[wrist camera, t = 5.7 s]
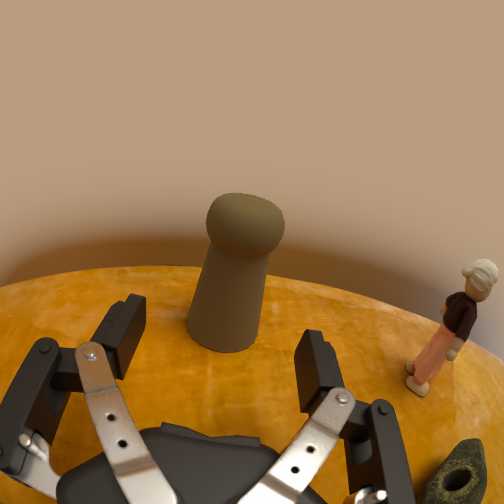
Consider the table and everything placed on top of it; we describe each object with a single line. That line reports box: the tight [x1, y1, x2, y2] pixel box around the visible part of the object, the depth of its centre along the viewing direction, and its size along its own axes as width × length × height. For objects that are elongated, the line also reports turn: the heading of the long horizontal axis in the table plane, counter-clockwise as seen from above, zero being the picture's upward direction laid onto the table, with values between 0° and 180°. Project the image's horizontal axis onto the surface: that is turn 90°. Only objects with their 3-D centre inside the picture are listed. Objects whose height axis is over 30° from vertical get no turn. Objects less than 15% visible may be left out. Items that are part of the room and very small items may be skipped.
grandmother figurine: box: [406, 259, 499, 397], centre depth 18 cm, size 8×4×13 cm, turn 162°
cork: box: [186, 193, 285, 353], centre depth 20 cm, size 6×6×11 cm
